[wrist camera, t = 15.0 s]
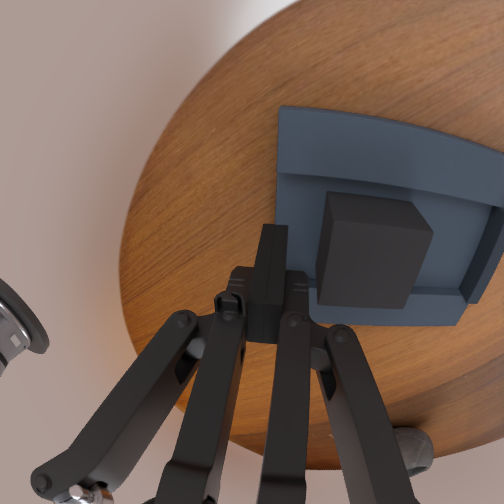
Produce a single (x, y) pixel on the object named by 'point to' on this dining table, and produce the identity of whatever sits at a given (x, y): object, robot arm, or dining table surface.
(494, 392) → the dining table surface
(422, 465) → the bowl
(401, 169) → the dock pad
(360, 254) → the black block
